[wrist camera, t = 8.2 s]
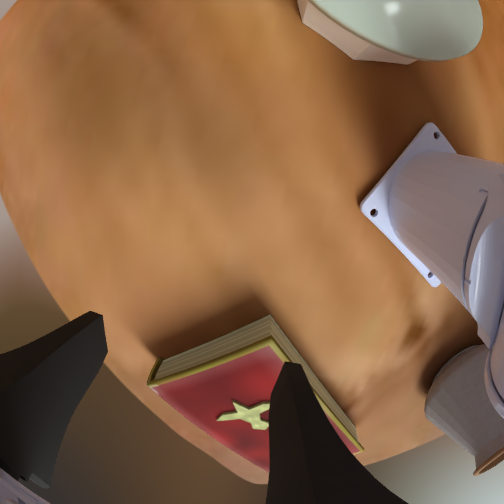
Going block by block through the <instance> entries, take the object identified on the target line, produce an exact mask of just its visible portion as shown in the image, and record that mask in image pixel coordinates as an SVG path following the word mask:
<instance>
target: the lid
mask: <svg viewBox="0 0 504 504" xmlns="http://www.w3.org/2000/svg"><path fill="white" fill-rule="evenodd" d="M308 1H309V2H310V3H311V4H312V5H313V6H314V7H315V8H316V9H317V10H319V11H320V12H321V13H323V14H324V15H325V16H326V17H328V18H329V19H330V20H332V21H333V22H335V23H336V24H338V25H339V26H341V27H342V28H343V29H345V30H347V31H349V32H350V33H352V34H354V35H355V36H357V37H359V38H361V39H363V40H365V41H367V42H368V43H370V44H372V45H375V46H377V47H379V48H381V49H384V50H386V51H389V52H391V53H394V54H397V55H400V56H403V57H407V58H411V59H415V60H421V61H429V62H440V61H448V60H451V59H454V58H458V57H461V56H464V55H466V54H467V53H469V52H471V51H472V50H473V49H474V48H475V47H476V46H477V44H478V42H479V41H480V38H481V35H482V29H483V18H482V12H481V8H480V5H479V2H478V0H308Z"/></svg>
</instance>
